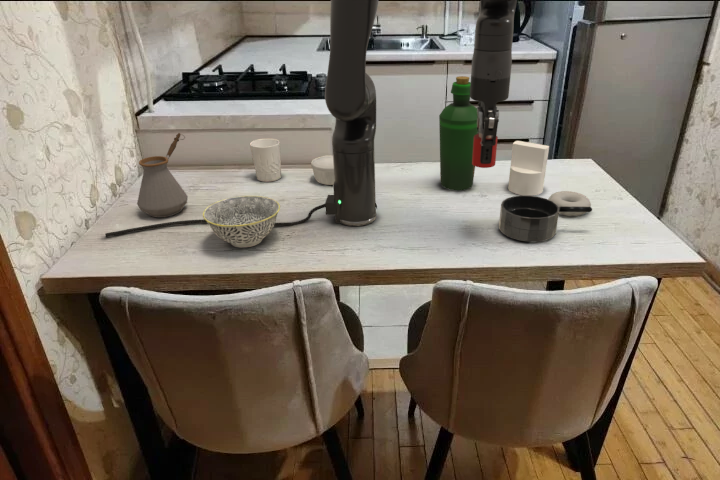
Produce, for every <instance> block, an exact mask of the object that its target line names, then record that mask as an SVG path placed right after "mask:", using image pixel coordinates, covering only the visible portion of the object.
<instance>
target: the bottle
mask: <svg viewBox="0 0 720 480" xmlns="http://www.w3.org/2000/svg"><path fill="white" fill-rule="evenodd" d="M470 84H471V81H470V76H464V75H459V76H456V77H455V81H453V83H452V85H451V90H450V93H451V94H452V102H451V103H450V104H448V105H447V106H445V107H444V108H443V109H442V111H441V112H440V114H439V116H438V119H439V124H438V125H439V167H440V168H439V170H440V180H439V181H440V185H441V186H442V187H443V188H445V189H447V190H449V191H456V192H459V191H460V192H461V191H465V190H468V189H471V188H472V187H473V185H474V179H475V170H476V166H474V165H473V164H472V157H473V142H474V136H475V135H476V134H477V133H478V131H477V107H476V106H475V105H474V104H472V103H470V102H471V97H470Z"/></svg>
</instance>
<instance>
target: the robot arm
mask: <svg viewBox="0 0 720 480" xmlns="http://www.w3.org/2000/svg"><path fill="white" fill-rule="evenodd" d="M517 1H518V0H480V3H479V14H478V17H477V19H476V22H475V29H474V45H473V46H474V47H473V53H472V58H471V71H470V82H471V84H470V100H472V101H476V102H478V103H477V107H476V108H477V131H478V133H477V134H479V133H480V134H481V155H480V162H481V164H490V163H491V160H492V148H493V146H495V144H496V136H498V135H497V134H498V128H499V127H498V126H499V122H500V119H499V118H500V110H499V109H498V106H497V103H500V102H502V103H503V102H504V101H506V100H508V99H509V96H510V86H511V75H512V64H513V56H512V55H513V54H512V53H513V51H512V50H513V49H512V48H513V39H514V25H515V24H514V22H515V21H514V20H515V12H516V8H517ZM378 5H379V0H330V13H329V15H330V16H329V18H330V19H329V27H330V28H329V30H330V31H329V32H330V33H329V36H330V37H329V38H330V44H329V45H330V46H329V59H328V66H327V74H326V81H325V86H324V87H325V89H324V101H325V105H326V108H327V110H328V112H329V113H330V114H331V116H333V117H334V119H335V124H334V129H333V132H332V136H331V145H332V146H331V147H332V155H333V163H334V179H335V181H334V184H333V185H332V187H333V194H327V197H326V199H325V202H324V203H323V204H320V205H317V206H315V207H313V208H311V209H310V211H309V212H308V214H307V216H306V217H304V218H303V219H301V220H297V221H292V222H275V224H274V227H290V226H291V227H292V226H297V225H301V224H304V223H307V222H308V221H309V220H310V219H311V218H312V215H313V214H314V213H315V212H317V211H319V210H322V209H325V216H334V218H335V223H336V224H342V225H344V226H349V227H362V226H367V225H370V224H372V223H373V222H375V220H376V219H377V210H378V205H377V203H376V202H377V201H376V166H375V165H376V163H375V161H376V160H375V158H376V157H375V138H376V133H377V90H376V86H375V83H374V81H373V79H372V78H371V76H370V75H369V74H368V73H367V72H366V65H367V64H366V63H367V51H368V46H369V41H370V38H371V34H372V31H373V27H374V24H375V20H376V16H377V12H378V7H379V6H378ZM486 136H491V139H486ZM188 224H208V223H207V222H206V220H205V219H204V218H203V219H186V220H178V221H176V220H175V221H168V222H162V223H155V224H150V225H149V224H148V225H144V226H138V227H132V228H127V229H122V230H117V231H112V232H106V233H105V235H104V236H105V237H106V238H108V237H109V238H110V237H114V236H118V235H119V236H120V235H123V234H128V233H134V232H139V231H145V230H151V229H157V228H158V229H159V228H163V227H170V226H171V227H172V226H178V225H179V226H180V225H188Z"/></svg>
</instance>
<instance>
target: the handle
mask: <svg viewBox="0 0 720 480" xmlns="http://www.w3.org/2000/svg"><path fill="white" fill-rule="evenodd" d="M592 211H593V208H592V206H591V207H561V206H560V207H559V212H587V213H592Z"/></svg>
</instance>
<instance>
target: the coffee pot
mask: <svg viewBox="0 0 720 480" xmlns="http://www.w3.org/2000/svg"><path fill="white" fill-rule="evenodd" d="M181 136H183V138H181ZM185 139H186V136H185V135H184V134H183V133H181V132H178V133H177V134H176V136H175V137H174V138H173V141H172V143H170V146H169V148H168V151H167V153H166V155H165V156H163V155H155V156H148V157H145V158H142V159H140V160H139V161H138V165H139V166H141V168H142V171H143V173H142V178H141V182H140V186H139V187H140V188H139V193H138V197H137V202H136V205H137V206H138V208H139V209H140V211H142V212H143V213H145V214H147V215H148V216H150V217H153V218H167V217H171V216H175V215H176V214H179V213H180V212H181V211H182V210H183V209H184V207H185V206H186V204H187V202H188V194H187V193H186V192H185V190H184V189H183V188H182V186H181V185H180V183H179V182H178V180H177V179H176V178H175V176H174V175H173V174H172V172H171V170H169V168H168V163H169V160H170V158H171V156H172V154H173V153H174V151H175V149H176V148H177V144H178V142H180V141H183V140H185Z"/></svg>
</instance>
